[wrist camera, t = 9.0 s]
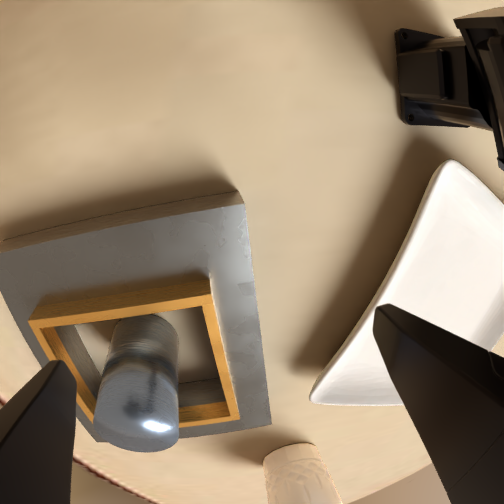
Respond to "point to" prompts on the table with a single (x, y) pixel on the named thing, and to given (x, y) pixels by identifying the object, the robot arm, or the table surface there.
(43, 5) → the table surface
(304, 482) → the white cup
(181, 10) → the table surface
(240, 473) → the table surface
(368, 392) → the salad plate
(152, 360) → the can
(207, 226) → the grey and gold frame
